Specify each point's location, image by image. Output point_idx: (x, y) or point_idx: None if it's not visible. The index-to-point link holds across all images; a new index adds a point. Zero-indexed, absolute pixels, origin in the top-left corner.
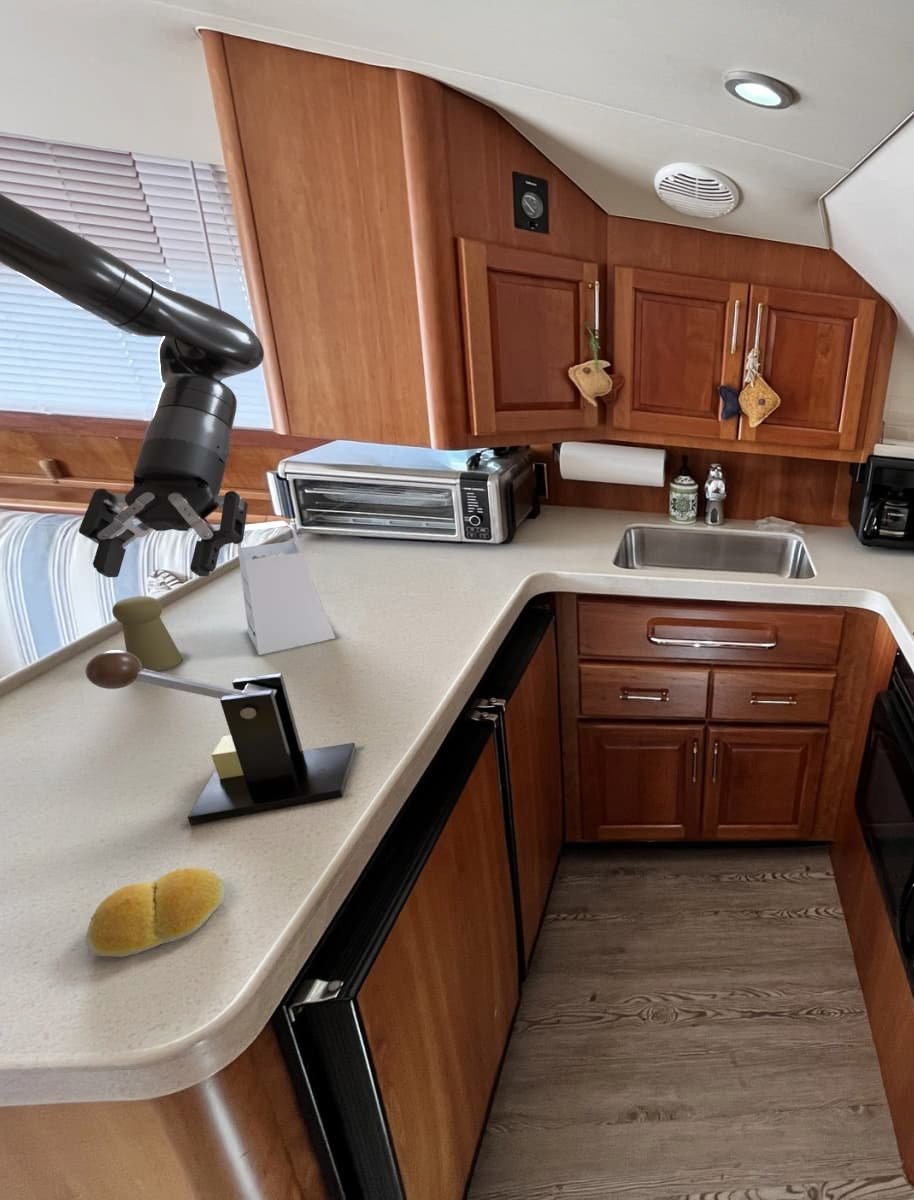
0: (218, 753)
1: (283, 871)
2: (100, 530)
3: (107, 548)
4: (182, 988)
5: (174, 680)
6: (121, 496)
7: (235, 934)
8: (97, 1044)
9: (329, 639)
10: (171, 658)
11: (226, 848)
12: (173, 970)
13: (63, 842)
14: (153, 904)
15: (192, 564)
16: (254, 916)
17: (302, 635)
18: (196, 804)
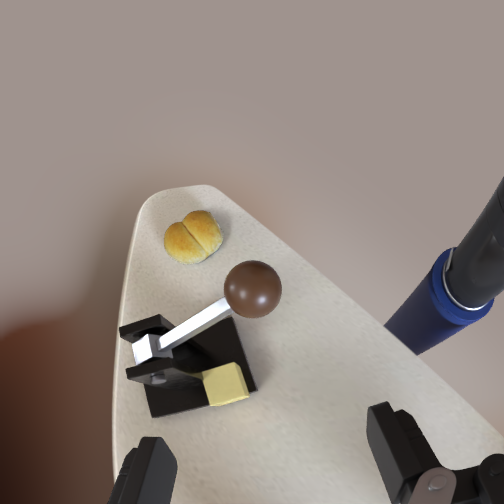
0: (228, 364)
1: (149, 277)
2: (466, 497)
3: (398, 453)
4: (164, 210)
5: (198, 313)
6: None
7: (155, 236)
8: (182, 189)
9: None
10: None
11: (193, 296)
12: (172, 217)
13: (313, 299)
14: (184, 224)
15: (150, 443)
16: (151, 246)
17: None
18: (235, 331)
